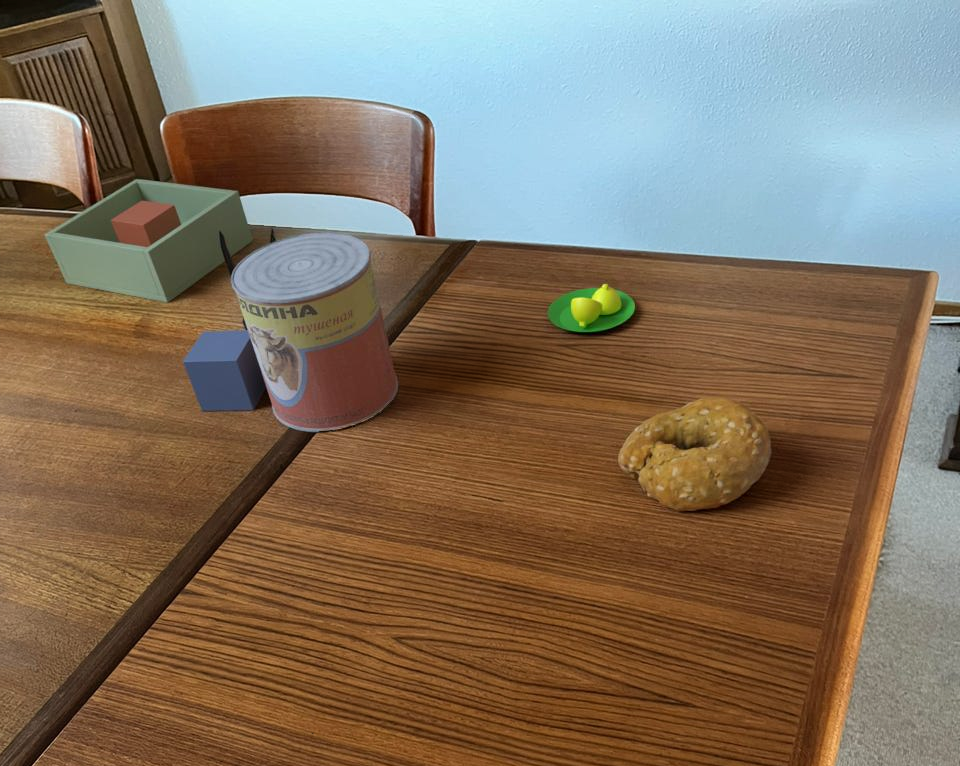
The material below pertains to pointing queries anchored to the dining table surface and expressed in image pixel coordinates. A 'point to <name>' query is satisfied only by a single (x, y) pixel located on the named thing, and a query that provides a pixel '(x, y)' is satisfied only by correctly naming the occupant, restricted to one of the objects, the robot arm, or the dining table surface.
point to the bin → (165, 264)
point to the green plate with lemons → (591, 309)
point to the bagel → (698, 454)
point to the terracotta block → (145, 223)
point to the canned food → (317, 329)
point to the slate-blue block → (225, 371)
